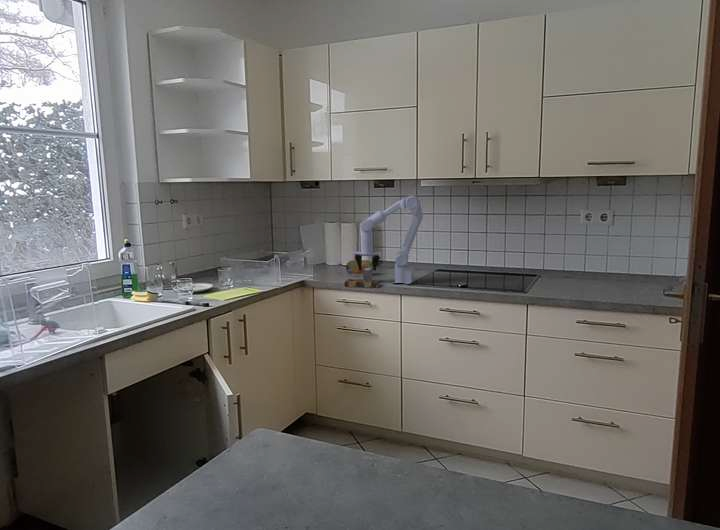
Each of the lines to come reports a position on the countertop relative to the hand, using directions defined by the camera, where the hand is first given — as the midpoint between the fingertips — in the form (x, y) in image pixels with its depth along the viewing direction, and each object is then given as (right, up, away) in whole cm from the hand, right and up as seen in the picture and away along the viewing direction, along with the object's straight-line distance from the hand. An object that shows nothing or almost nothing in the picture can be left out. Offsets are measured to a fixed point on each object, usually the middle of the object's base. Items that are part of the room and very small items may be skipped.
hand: (367, 270), depth 263 cm
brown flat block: (-3, -8, -5) cm, 10 cm away
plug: (0, -7, +1) cm, 7 cm away
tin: (-4, -3, +22) cm, 23 cm away
